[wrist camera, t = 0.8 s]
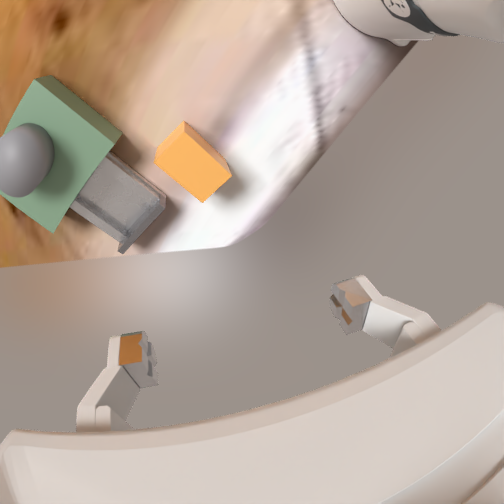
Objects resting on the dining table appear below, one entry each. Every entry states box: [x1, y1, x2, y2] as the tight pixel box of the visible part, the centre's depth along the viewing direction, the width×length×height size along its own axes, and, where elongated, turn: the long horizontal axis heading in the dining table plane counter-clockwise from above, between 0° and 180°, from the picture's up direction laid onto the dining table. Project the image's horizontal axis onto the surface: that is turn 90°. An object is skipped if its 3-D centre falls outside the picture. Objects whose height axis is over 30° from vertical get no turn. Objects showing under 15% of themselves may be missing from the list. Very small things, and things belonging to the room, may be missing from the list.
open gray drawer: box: [70, 151, 166, 254], centre depth 36 cm, size 10×11×4 cm
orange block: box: [154, 121, 232, 203], centre depth 34 cm, size 5×8×6 cm, turn 40°
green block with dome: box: [0, 75, 123, 233], centre depth 27 cm, size 16×14×9 cm
